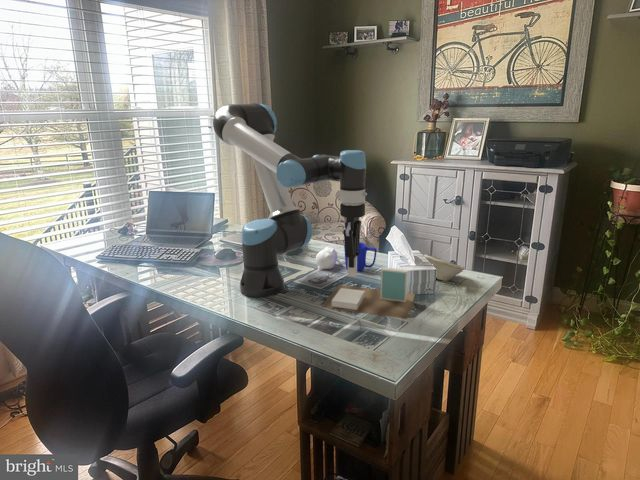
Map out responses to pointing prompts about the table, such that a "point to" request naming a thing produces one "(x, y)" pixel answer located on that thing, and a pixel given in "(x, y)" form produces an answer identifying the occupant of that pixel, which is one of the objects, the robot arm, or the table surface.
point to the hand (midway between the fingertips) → (352, 275)
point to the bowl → (444, 268)
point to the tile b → (394, 284)
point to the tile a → (348, 298)
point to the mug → (362, 257)
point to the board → (376, 303)
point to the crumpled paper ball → (327, 258)
